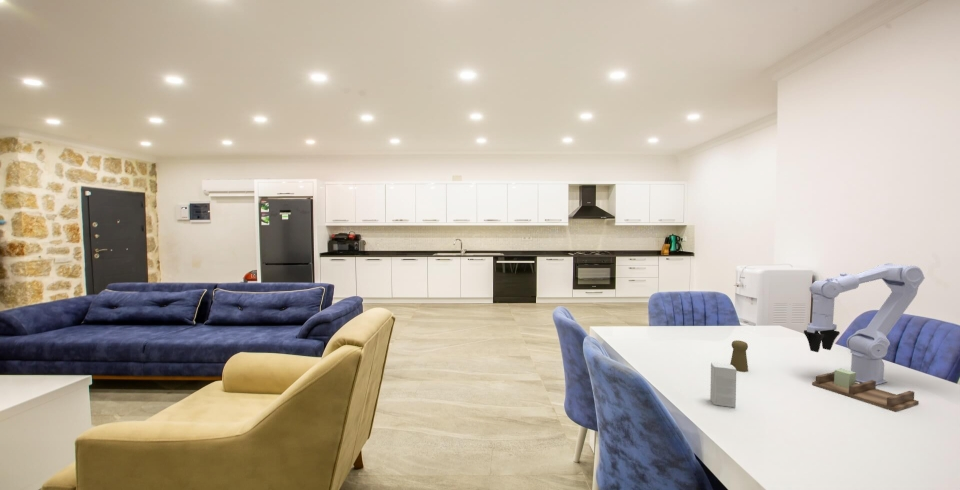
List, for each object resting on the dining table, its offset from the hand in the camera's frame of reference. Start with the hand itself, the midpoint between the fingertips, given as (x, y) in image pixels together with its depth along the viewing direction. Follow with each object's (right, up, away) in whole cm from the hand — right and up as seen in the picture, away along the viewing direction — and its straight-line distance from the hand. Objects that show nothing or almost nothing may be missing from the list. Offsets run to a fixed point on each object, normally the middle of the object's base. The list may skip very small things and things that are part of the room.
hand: (820, 350), depth 138 cm
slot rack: (+2, -11, -13) cm, 17 cm away
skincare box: (-49, -11, -21) cm, 55 cm away
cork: (-24, -10, +9) cm, 27 cm away
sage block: (+1, -10, -8) cm, 13 cm away
